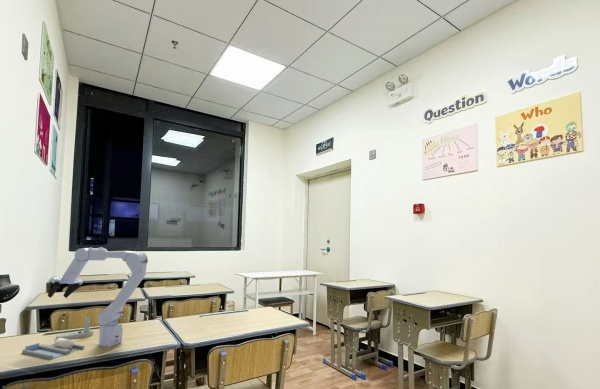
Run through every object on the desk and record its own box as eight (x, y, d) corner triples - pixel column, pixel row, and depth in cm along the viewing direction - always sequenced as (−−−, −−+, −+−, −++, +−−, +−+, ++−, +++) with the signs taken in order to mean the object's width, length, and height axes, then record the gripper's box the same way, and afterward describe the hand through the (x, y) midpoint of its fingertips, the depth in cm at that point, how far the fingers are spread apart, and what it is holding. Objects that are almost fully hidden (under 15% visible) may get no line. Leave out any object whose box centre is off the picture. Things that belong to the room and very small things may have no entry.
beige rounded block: (73, 348, 146) (74, 338, 146) (64, 351, 142) (65, 341, 143) (62, 346, 148) (63, 336, 149) (53, 348, 145) (54, 339, 145)
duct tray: (83, 349, 145) (84, 342, 146) (50, 360, 132) (51, 353, 133) (56, 344, 152) (57, 337, 152) (21, 354, 139) (22, 347, 139)
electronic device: (57, 319, 161) (93, 314, 169) (56, 340, 160) (92, 334, 168) (57, 321, 156) (94, 316, 165) (55, 343, 155) (93, 337, 164)
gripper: (83, 268, 166) (67, 292, 164) (54, 265, 153) (37, 291, 151) (90, 275, 163) (74, 300, 161) (62, 272, 150) (44, 299, 148)
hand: (57, 296), depth 156 cm, fingers open, 7 cm apart
